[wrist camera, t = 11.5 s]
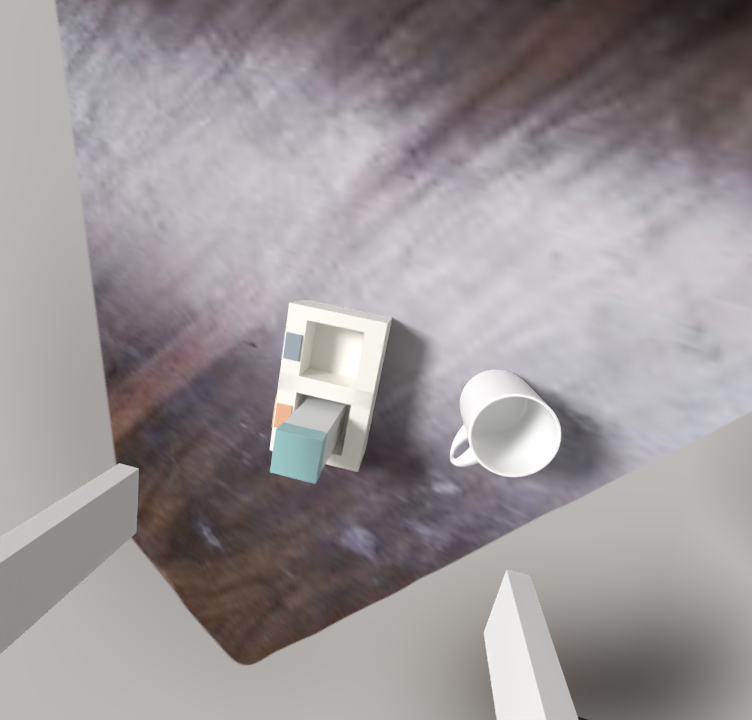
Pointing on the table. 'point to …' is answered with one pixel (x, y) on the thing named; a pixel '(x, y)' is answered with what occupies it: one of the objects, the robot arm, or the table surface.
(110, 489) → the robot arm
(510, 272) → the table surface
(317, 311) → the socket box
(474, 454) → the mug
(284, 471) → the plug
